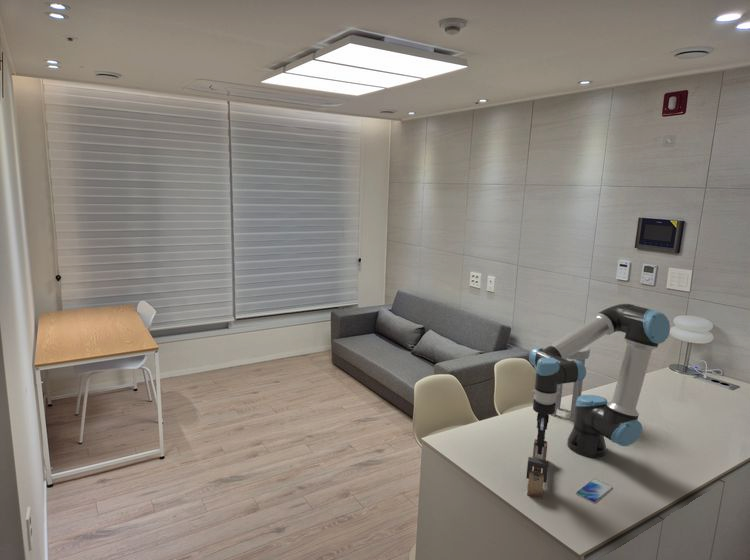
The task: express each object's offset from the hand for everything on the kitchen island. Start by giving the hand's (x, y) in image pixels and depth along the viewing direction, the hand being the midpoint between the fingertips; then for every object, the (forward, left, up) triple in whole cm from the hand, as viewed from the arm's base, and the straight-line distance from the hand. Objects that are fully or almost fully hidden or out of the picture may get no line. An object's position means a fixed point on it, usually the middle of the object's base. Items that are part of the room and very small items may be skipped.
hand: (538, 460), depth 177 cm
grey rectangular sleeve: (0, +3, -6) cm, 6 cm away
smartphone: (-20, -4, -10) cm, 23 cm away
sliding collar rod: (0, -4, -9) cm, 10 cm away
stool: (-9, -67, -10) cm, 68 cm away
